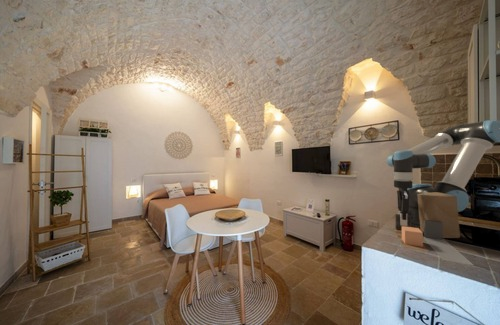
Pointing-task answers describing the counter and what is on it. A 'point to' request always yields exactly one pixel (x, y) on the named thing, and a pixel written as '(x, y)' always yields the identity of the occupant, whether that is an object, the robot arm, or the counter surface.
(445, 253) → the grey l-shaped block
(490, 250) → the counter surface
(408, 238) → the terracotta cube
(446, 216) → the wooden block
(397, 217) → the walnut strip
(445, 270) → the counter surface
